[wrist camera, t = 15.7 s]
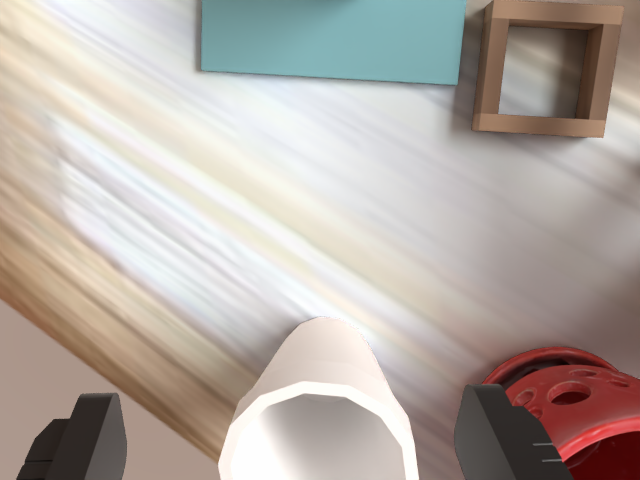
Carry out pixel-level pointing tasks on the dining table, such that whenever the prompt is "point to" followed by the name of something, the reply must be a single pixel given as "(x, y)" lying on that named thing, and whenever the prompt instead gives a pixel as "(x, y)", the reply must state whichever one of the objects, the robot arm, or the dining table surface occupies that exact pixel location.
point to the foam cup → (320, 414)
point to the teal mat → (335, 39)
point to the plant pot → (579, 409)
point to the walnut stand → (595, 73)
